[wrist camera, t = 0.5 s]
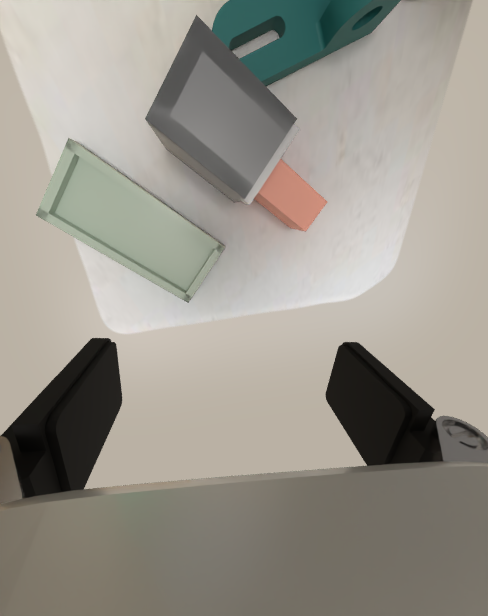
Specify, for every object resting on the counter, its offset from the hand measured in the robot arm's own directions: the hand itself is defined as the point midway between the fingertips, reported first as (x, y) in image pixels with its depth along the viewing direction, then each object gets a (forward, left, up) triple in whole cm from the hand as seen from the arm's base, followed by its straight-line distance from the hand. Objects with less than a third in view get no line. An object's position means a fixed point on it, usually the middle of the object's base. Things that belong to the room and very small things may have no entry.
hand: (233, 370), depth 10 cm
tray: (+3, -10, -26) cm, 28 cm away
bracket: (-25, -7, -27) cm, 37 cm away
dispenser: (-11, -7, -26) cm, 29 cm away
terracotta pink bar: (-11, -2, -26) cm, 29 cm away
